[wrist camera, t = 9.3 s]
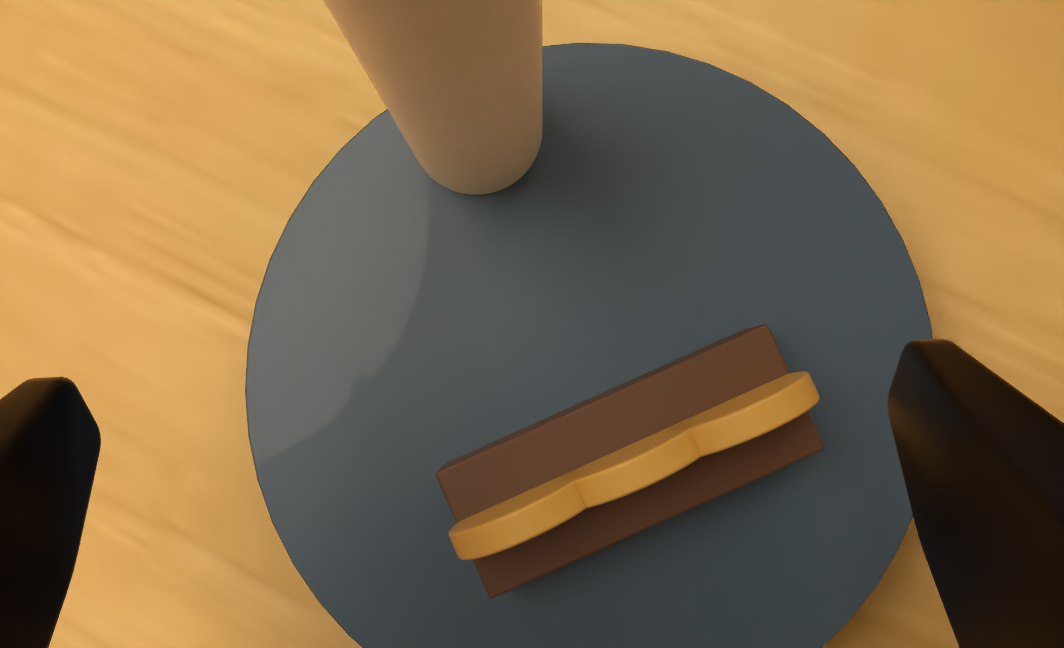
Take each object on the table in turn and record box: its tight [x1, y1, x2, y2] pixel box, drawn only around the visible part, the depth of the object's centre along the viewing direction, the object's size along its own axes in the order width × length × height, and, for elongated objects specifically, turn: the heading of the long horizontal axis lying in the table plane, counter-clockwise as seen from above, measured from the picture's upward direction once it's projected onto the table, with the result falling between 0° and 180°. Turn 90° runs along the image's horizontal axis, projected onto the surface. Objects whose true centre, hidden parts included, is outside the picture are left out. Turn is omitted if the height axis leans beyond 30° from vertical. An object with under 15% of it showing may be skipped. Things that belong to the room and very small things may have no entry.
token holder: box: [245, 0, 933, 648], centre depth 13 cm, size 13×13×11 cm
